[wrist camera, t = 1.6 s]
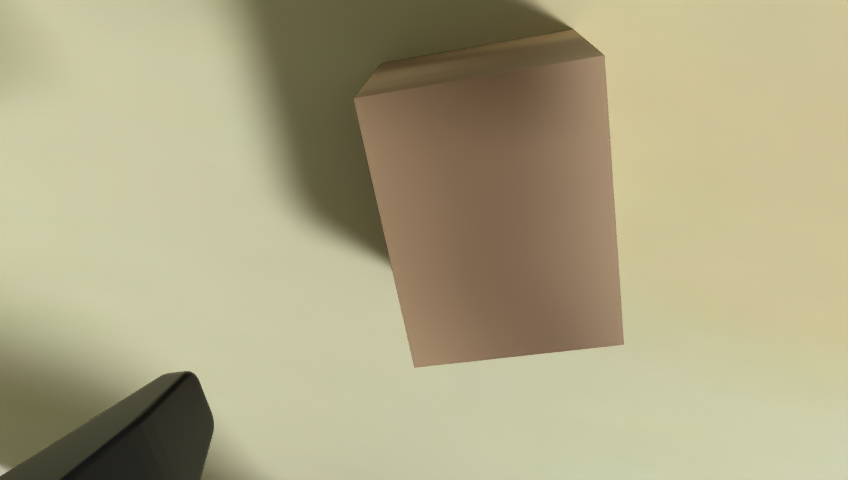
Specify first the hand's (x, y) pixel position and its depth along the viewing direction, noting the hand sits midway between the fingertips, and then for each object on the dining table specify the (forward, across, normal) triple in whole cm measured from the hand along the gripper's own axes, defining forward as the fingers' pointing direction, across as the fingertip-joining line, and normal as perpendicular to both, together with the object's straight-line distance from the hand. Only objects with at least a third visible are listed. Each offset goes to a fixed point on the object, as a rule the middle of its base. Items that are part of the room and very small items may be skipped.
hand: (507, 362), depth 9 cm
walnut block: (+8, 0, 0) cm, 8 cm away
